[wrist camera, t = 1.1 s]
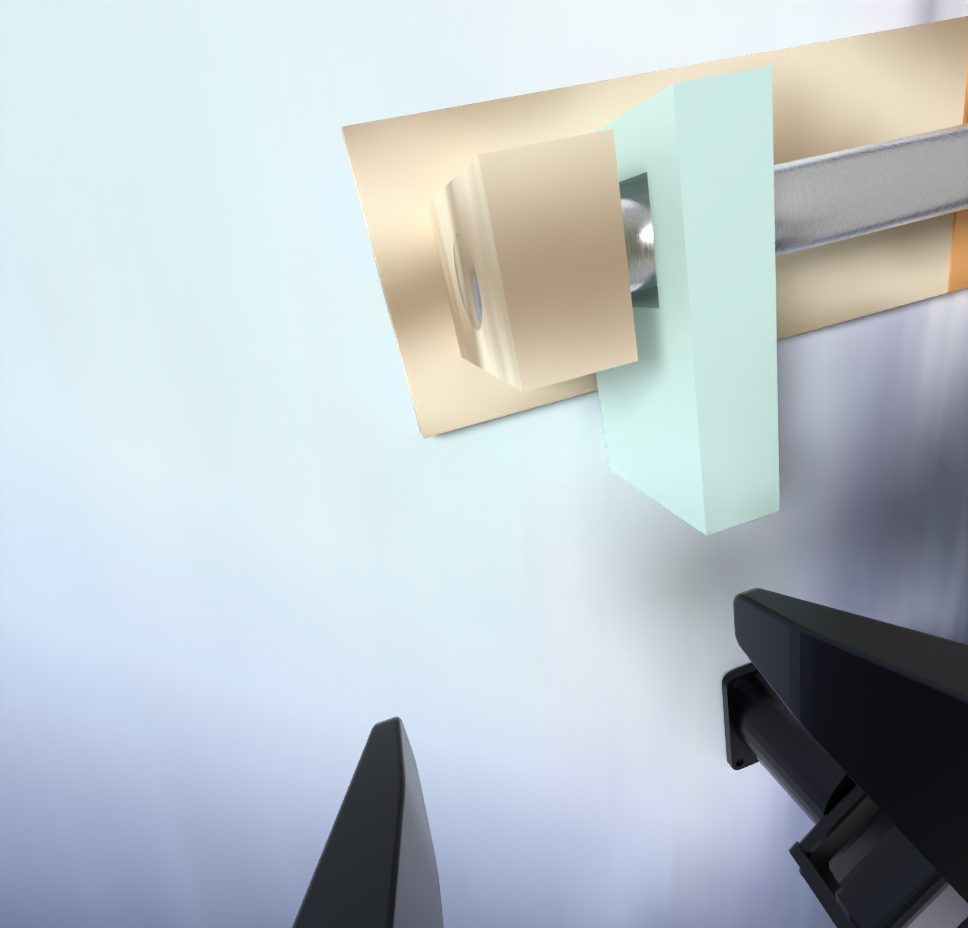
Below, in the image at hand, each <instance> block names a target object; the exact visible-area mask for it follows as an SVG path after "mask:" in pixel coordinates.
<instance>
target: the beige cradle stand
mask: <svg viewBox="0 0 968 928" xmlns="http://www.w3.org/2000/svg"><path fill="white" fill-rule="evenodd" d="M767 66H772V102H773V158H774V165H777V164H781V163H786V162H791V161H795V160H800V159H804V158H809V157H814V156H818V155H823V154H827V153H832V152H837V151H841V150H846V149H851V148H855V147H860V146H864V145H869V144H874V143H878V142H883V141H887V140H892V139H897V138H901V137H906V136H911V135H915V134H920V133H924V132H929V131H934V130H938V129H943V128H948V127H952V126H957V125H961V124H966V123H968V16H966V17H961V18H955V19H949V20H944V21H938V22H932V23H927V24H921V25H915V26H910V27H904V28H898V29H893V30H887V31H881V32H876V33H870V34H864V35H859V36H853V37H847V38H842V39H836V40H831V41H825V42H819V43H814V44H808V45H802V46H797V47H791V48H785V49H780V50H774V51H768V52H763V53H757V54H751V55H746V56H740V57H734V58H729V59H723V60H717V61H712V62H706V63H700V64H695V65H689V66H683V67H678V68H672V69H666V70H661V71H655V72H650V73H644V74H638V75H633V76H627V77H621V78H616V79H610V80H604V81H599V82H593V83H587V84H582V85H576V86H570V87H565V88H559V89H553V90H548V91H542V92H536V93H531V94H525V95H519V96H514V97H508V98H502V99H497V100H491V101H485V102H480V103H474V104H468V105H463V106H457V107H452V108H446V109H440V110H435V111H429V112H423V113H418V114H412V115H406V116H401V117H395V118H389V119H384V120H378V121H372V122H367V123H361V124H355V125H350V126H344V127H342V136H343V140H344V144H345V148H346V152H347V155H348V159H349V163H350V167H351V170H352V174H353V178H354V182H355V186H356V189H357V193H358V197H359V201H360V205H361V208H362V212H363V216H364V220H365V223H366V227H367V231H368V235H369V239H370V242H371V246H372V250H373V254H374V258H375V261H376V265H377V269H378V273H379V277H380V280H381V284H382V288H383V292H384V295H385V299H386V303H387V307H388V311H389V314H390V318H391V322H392V326H393V330H394V333H395V337H396V341H397V345H398V348H399V352H400V356H401V360H402V364H403V367H404V371H405V375H406V379H407V383H408V386H409V390H410V394H411V398H412V402H413V405H414V409H415V413H416V417H417V420H418V424H419V428H420V432H421V434H422V436H423V438H427V437H430V436H434V435H437V434H441V433H445V432H448V431H452V430H455V429H459V428H463V427H466V426H470V425H473V424H477V423H481V422H484V421H488V420H492V419H495V418H499V417H502V416H506V415H510V414H513V413H517V412H520V411H524V410H528V409H531V408H535V407H538V406H542V405H546V404H549V403H553V402H556V401H560V400H564V399H567V398H571V397H574V396H578V395H582V394H585V393H589V392H592V391H596V390H598V386H597V379H596V372H599V371H603V370H606V369H610V368H614V367H618V366H621V365H625V364H629V363H632V362H636V361H638V353H637V344H636V335H635V326H634V317H633V308H632V298H631V289H630V280H629V271H628V262H627V252H626V243H625V234H624V225H623V216H622V206H621V197H620V188H619V179H618V170H617V160H616V151H615V142H614V133H613V129H609V130H604V131H599V132H595V131H597V130H598V129H600V128H601V127H603V126H605V125H606V124H608V123H610V122H611V121H613V120H615V119H616V118H618V117H619V116H621V115H623V114H624V113H626V112H628V111H629V110H631V109H632V108H634V107H636V106H637V105H639V104H641V103H642V102H644V101H646V100H647V99H649V98H650V97H652V96H654V95H655V94H657V93H659V92H660V91H662V90H664V89H665V88H667V87H668V86H670V85H672V84H673V83H679V82H684V81H690V80H695V79H701V78H706V77H712V76H717V75H723V74H728V73H734V72H739V71H745V70H750V69H756V68H761V67H767ZM593 132H594V133H593ZM456 234H457V235H456ZM459 234H460V235H461V236H462V237H463V238H462V237H461V236H460V235H459ZM455 235H456V236H455ZM453 246H454V249H453ZM467 246H468V247H467ZM454 253H455V262H454ZM455 263H456V269H455ZM474 267H475V268H474ZM475 271H476V274H477V279H478V284H479V289H480V295H481V304H482V321H481V328H480V325H479V317H478V315H479V314H478V311H477V309H478V308H477V307H476V303H477V302H476V303H475V301H476V299H475V293H474V291H475V290H474V287H475V286H474V285H473V283H474V280H473V277H474V279H476V274H475ZM775 271H776V328H777V340H780V339H783V338H787V337H790V336H794V335H798V334H801V333H805V332H808V331H812V330H816V329H819V328H823V327H826V326H830V325H834V324H837V323H841V322H844V321H848V320H852V319H855V318H859V317H862V316H866V315H870V314H873V313H877V312H880V311H884V310H888V309H891V308H895V307H898V306H902V305H906V304H909V303H913V302H916V301H920V300H924V299H927V298H931V297H934V296H938V295H942V294H945V293H951V292H955V291H958V290H962V289H966V288H968V209H965V210H961V211H957V212H953V213H949V214H945V215H941V216H937V217H933V218H929V219H925V220H921V221H917V222H913V223H909V224H905V225H901V226H896V227H892V228H888V229H884V230H880V231H876V232H872V233H868V234H864V235H860V236H856V237H852V238H848V239H844V240H840V241H836V242H832V243H828V244H824V245H820V246H816V247H812V248H808V249H804V250H800V251H796V252H792V253H788V254H784V255H780V256H776V257H775ZM456 273H457V276H456ZM472 275H473V276H472ZM457 279H458V282H457ZM477 279H476V280H477ZM458 283H459V286H458ZM459 288H460V290H459ZM460 291H461V294H460ZM461 295H462V298H461ZM462 299H463V301H462ZM463 303H464V305H463ZM478 329H480V330H478Z"/></svg>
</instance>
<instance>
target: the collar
mask: <svg viewBox="0 0 968 928" xmlns="http://www.w3.org/2000/svg"><path fill="white" fill-rule="evenodd" d="M609 129H613V133H614V142H615V151H616V160H617V170H618V179H619V188H620V197H621V198H624V197H629V196H634V195H638V194H643V193H647V192H649V200H650V211H651V222H652V233H653V243H654V254H655V265H656V276H657V286H655V287H651V288H647V289H643V290H639V291H635V292H631V298H632V308H633V317H634V326H635V335H636V344H637V353H638V361H636V362H632V363H629V364H625V365H621V366H618V367H614V368H610V369H606V370H603V371H599V372H596V379H597V386H598V393H599V401H600V408H601V415H602V422H603V430H604V437H605V444H606V451H607V459H608V466H609V471H611V472H612V473H614V474H615V475H617V476H618V477H620V478H621V479H623V480H624V481H626V482H627V483H629V484H630V485H632V486H633V487H635V488H636V489H638V490H639V491H641V492H642V493H643V494H645V495H646V496H648V497H649V498H651V499H652V500H654V501H655V502H657V503H658V504H660V505H661V506H663V507H664V508H666V509H667V510H669V511H670V512H672V513H673V514H675V515H676V516H678V517H679V518H681V519H682V520H683V521H685V522H686V523H688V524H689V525H691V526H692V527H694V528H695V529H697V530H698V531H700V532H701V533H703V534H704V535H706V536H707V535H710V534H713V533H716V532H719V531H722V530H725V529H728V528H731V527H734V526H737V525H740V524H743V523H746V522H749V521H752V520H755V519H758V518H761V517H764V516H766V515H769V514H772V513H775V512H778V511H780V497H779V441H778V384H777V328H776V271H775V215H774V158H773V102H772V66H767V67H761V68H756V69H750V70H745V71H739V72H734V73H728V74H723V75H717V76H712V77H706V78H701V79H695V80H690V81H684V82H679V83H673V84H672V85H670V86H668V87H667V88H665V89H664V90H662V91H660V92H659V93H657V94H655V95H654V96H652V97H650V98H649V99H647V100H646V101H644V102H642V103H641V104H639V105H637V106H636V107H634V108H632V109H631V110H629V111H628V112H626V113H624V114H623V115H621V116H619V117H618V118H616V119H615V120H613V121H611V122H610V123H608V124H606V125H605V126H603V127H601V128H600V129H598V130H597V131H595V132H599V131H604V130H609ZM593 133H594V132H593Z"/></svg>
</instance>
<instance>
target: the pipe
mask: <svg viewBox="0 0 968 928" xmlns="http://www.w3.org/2000/svg"><path fill="white" fill-rule="evenodd" d="M621 206H622V216H623V225H624V234H625V243H626V252H627V262H628V271H629V280H630V289H631V292H635V291H639V290H643V289H647V288H651V287H655V286H657V276H656V265H655V254H654V243H653V233H652V222H651V211H650V200H649V192H647V193H643V194H638V195H634V196H629V197H624V198H621ZM965 209H968V123H966V124H961V125H957V126H952V127H948V128H943V129H938V130H934V131H929V132H924V133H920V134H915V135H911V136H906V137H901V138H897V139H892V140H887V141H883V142H878V143H874V144H869V145H864V146H860V147H855V148H851V149H846V150H841V151H837V152H832V153H827V154H823V155H818V156H814V157H809V158H804V159H800V160H795V161H791V162H786V163H781V164H777V165H774V215H775V257H776V256H780V255H784V254H788V253H792V252H796V251H800V250H804V249H808V248H812V247H816V246H820V245H824V244H828V243H832V242H836V241H840V240H844V239H848V238H852V237H856V236H860V235H864V234H868V233H872V232H876V231H880V230H884V229H888V228H892V227H896V226H901V225H905V224H909V223H913V222H917V221H921V220H925V219H929V218H933V217H937V216H941V215H945V214H949V213H953V212H957V211H961V210H965ZM456 235H457V234H456ZM456 235H455V236H456ZM459 235H460V234H459ZM460 236H461V235H460ZM461 237H462V236H461ZM462 238H463V237H462ZM467 247H468V246H467ZM453 249H454V246H453ZM454 262H455V253H454ZM474 268H475V267H474ZM455 269H456V263H455ZM475 274H476V271H475ZM456 276H457V273H456ZM472 276H473V275H472ZM476 279H477V274H476ZM476 279H474V277H473V280H474V283H473V285H474V286H475V287H474V290H475V291H474V293H475V299H476V301H475V303H476V302H477V303H476V307H477V308H478V309H477V311H478V314H479V315H478V317H479V325H480V328H481V321H482V304H481V295H480V289H479V284H478V279H477V280H476ZM457 282H458V279H457ZM458 286H459V283H458ZM459 290H460V288H459ZM460 294H461V291H460ZM461 298H462V295H461ZM462 301H463V299H462ZM463 305H464V303H463ZM478 330H480V329H478Z"/></svg>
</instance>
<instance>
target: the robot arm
mask: <svg viewBox="0 0 968 928" xmlns="http://www.w3.org/2000/svg"><path fill="white" fill-rule="evenodd" d="M733 608H734V626H735V636H736V639H737V641H738V643H739V645H740V647H741V648H742V650H743V651H744V652H745V654H746V655H747V656H748V658H749V659H750V660H751V661H752V663H753V664H752V665H749V666H746V667H744V668H741V669H739V670H736V671H734V672H731V673H729V674H727V675H726V676H725V677H724V678H723V680H722V694H723V708H724V723H725V737H726V752H727V762H728V763H729V765H730V766H731V767H732V768H733V769H734V770H740V769H742V768H745V767H747V766H749V765H752V764H754V763H756V762H759V761H760V763H761V764H762V765H763V766H764V767H765V768H766V769H767V770H768V772H769V773H770V774H771V775H772V776H773V777H774V778H775V779H776V781H777V782H778V783H779V784H780V785H781V786H782V787H783V788H784V790H785V791H786V792H787V793H788V794H789V795H790V796H791V798H792V799H793V800H794V801H795V802H796V803H797V804H798V805H799V807H800V808H801V809H802V810H803V811H804V812H805V813H806V814H807V816H808V817H809V818H810V819H811V820H812V821H813V822H814V823H815V826H814V827H813V829H812V830H811V831H810V832H809V833H808V834H807V835H806V836H805V837H804V838H803V839H802V840H801V841H800V842H796V843H795V844H794V845H793V846H792V847H791V848H790V849H789V852H790V853H791V855H792V856H793V858H794V859H795V861H796V862H797V864H798V865H799V867H800V869H799V871H800V874H801V875H802V876H803V877H804V879H805V880H806V882H807V883H808V885H809V886H810V888H811V889H812V891H813V892H814V894H815V895H816V897H817V898H818V900H819V901H820V903H821V904H822V906H823V907H824V909H825V910H826V912H827V913H828V915H829V916H830V918H831V919H832V921H833V922H834V924H835V925H836V927H837V928H968V645H967V644H963V643H959V642H956V641H952V640H948V639H945V638H941V637H937V636H933V635H930V634H926V633H922V632H919V631H915V630H911V629H908V628H904V627H900V626H897V625H893V624H889V623H886V622H882V621H878V620H874V619H871V618H867V617H863V616H860V615H856V614H852V613H849V612H845V611H841V610H838V609H834V608H830V607H827V606H823V605H819V604H815V603H812V602H808V601H804V600H801V599H797V598H793V597H790V596H786V595H782V594H779V593H775V592H771V591H767V590H764V589H760V588H754V589H751V590H748V591H745V592H742V593H739V594H737V595H736V596H735V598H734V600H733ZM292 928H444V927H443V916H442V905H441V895H440V885H439V877H438V870H437V864H436V858H435V853H434V848H433V843H432V838H431V833H430V828H429V823H428V819H427V814H426V809H425V804H424V799H423V794H422V789H421V784H420V780H419V775H418V770H417V766H416V761H415V758H414V755H413V752H412V749H411V746H410V743H409V740H408V737H407V734H406V731H405V728H404V725H403V723H402V720H401V719H400V718H399V717H393V718H391V719H388V720H385V721H382V722H379V723H377V724H375V725H374V727H373V728H372V730H371V733H370V735H369V738H368V740H367V743H366V745H365V748H364V750H363V753H362V755H361V758H360V760H359V763H358V765H357V768H356V770H355V773H354V775H353V778H352V780H351V783H350V785H349V787H348V790H347V792H346V795H345V797H344V800H343V802H342V805H341V807H340V810H339V812H338V815H337V817H336V820H335V822H334V825H333V827H332V830H331V832H330V835H329V837H328V840H327V842H326V845H325V847H324V850H323V852H322V855H321V857H320V860H319V862H318V864H317V867H316V869H315V872H314V874H313V877H312V879H311V882H310V884H309V887H308V889H307V892H306V894H305V897H304V899H303V902H302V904H301V907H300V909H299V912H298V914H297V917H296V919H295V922H294V924H293V927H292Z"/></svg>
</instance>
